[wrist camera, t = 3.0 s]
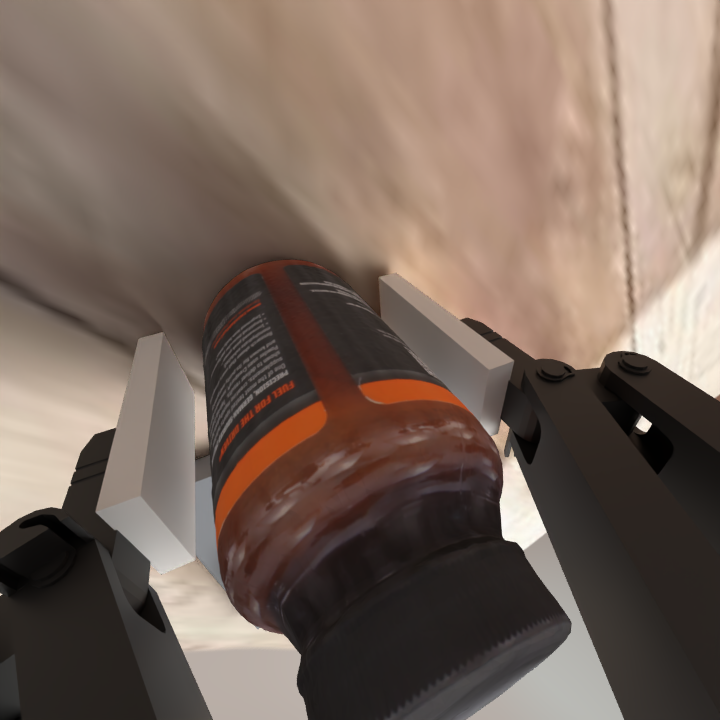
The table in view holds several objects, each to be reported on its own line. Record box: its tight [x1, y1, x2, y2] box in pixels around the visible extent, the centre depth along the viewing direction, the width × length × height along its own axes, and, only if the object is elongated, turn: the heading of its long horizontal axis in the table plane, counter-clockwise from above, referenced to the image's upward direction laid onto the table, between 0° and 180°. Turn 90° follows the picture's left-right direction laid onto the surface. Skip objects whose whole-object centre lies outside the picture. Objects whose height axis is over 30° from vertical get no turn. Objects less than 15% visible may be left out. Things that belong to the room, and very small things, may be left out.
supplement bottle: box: [202, 260, 571, 720], centre depth 9 cm, size 6×6×11 cm
